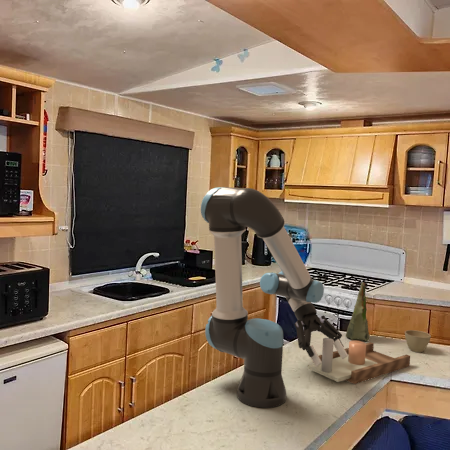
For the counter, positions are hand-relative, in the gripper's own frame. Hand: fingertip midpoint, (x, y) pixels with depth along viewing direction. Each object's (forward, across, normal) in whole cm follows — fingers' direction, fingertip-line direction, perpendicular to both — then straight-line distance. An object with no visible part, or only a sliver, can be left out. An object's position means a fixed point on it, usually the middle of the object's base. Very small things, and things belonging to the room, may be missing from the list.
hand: (332, 361), depth 163 cm
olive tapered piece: (-13, -46, -22) cm, 53 cm away
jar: (+1, -16, -4) cm, 17 cm away
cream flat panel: (+2, -10, -5) cm, 12 cm away
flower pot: (+3, -55, -6) cm, 55 cm away
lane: (+3, -20, -6) cm, 21 cm away
